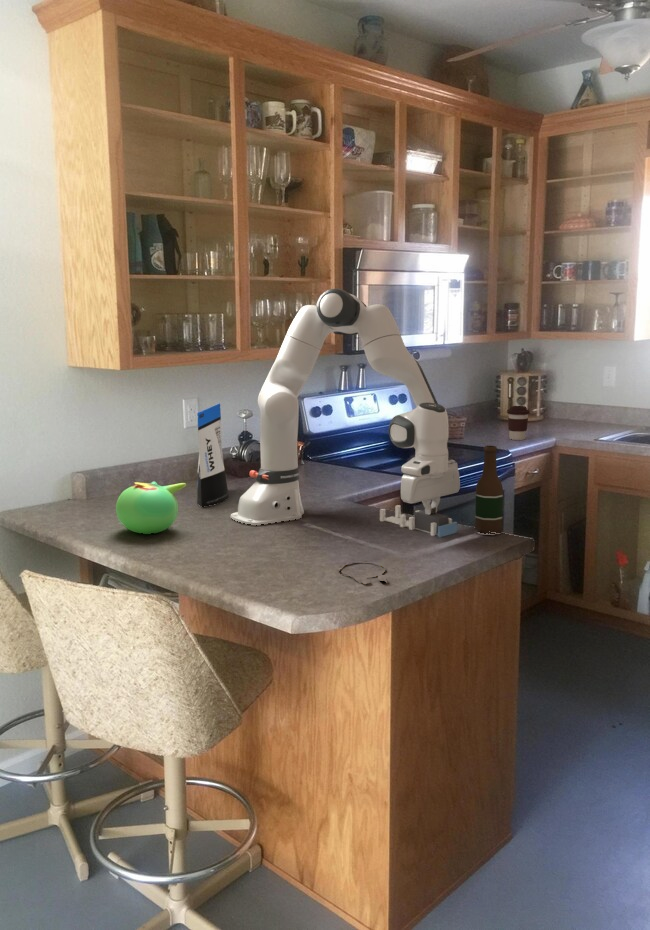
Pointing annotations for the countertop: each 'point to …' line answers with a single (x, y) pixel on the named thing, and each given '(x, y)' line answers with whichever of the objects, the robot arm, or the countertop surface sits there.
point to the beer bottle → (489, 496)
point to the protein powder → (210, 459)
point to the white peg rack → (402, 521)
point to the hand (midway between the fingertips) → (431, 513)
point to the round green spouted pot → (148, 507)
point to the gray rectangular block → (429, 520)
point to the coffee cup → (517, 422)
